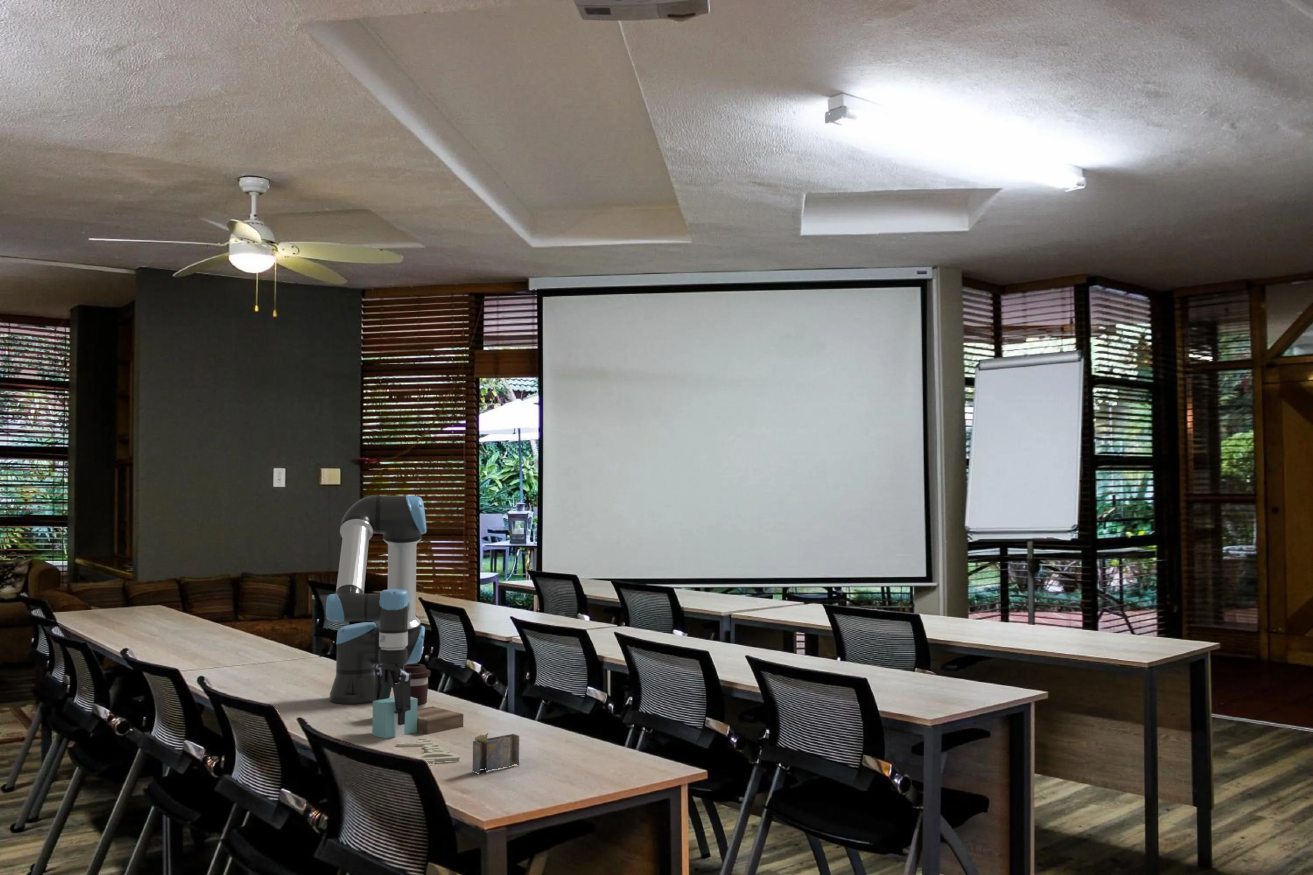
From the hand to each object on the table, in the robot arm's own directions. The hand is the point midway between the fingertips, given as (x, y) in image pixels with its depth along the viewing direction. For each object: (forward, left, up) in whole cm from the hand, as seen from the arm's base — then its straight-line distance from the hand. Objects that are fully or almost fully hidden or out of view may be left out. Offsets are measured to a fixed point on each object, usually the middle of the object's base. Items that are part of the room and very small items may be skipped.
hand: (391, 734), depth 280 cm
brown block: (0, +13, 0) cm, 13 cm away
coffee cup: (-14, +17, -1) cm, 22 cm away
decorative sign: (+21, -4, -1) cm, 22 cm away
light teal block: (0, +1, 0) cm, 1 cm away
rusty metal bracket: (+45, -2, -1) cm, 45 cm away
